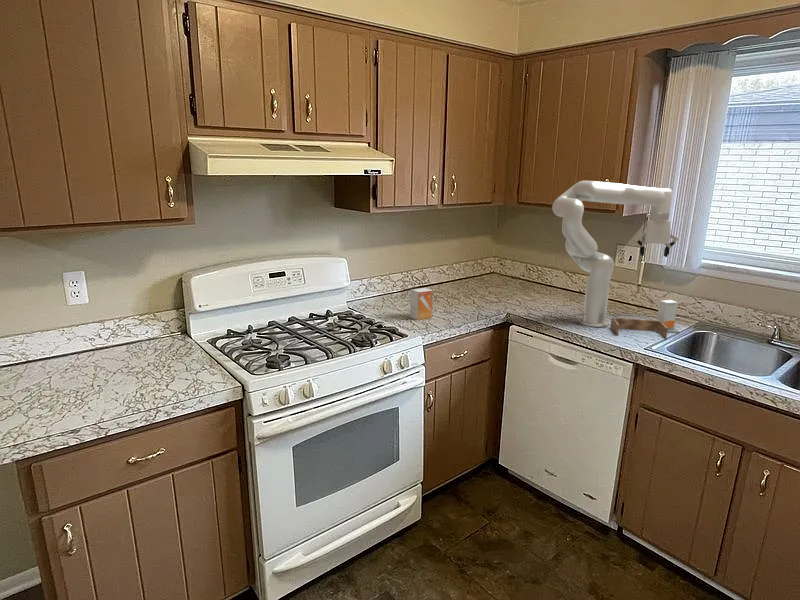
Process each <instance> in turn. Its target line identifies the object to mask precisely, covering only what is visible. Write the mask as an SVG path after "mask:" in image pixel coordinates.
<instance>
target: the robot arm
mask: <svg viewBox="0 0 800 600" xmlns="http://www.w3.org/2000/svg"><path fill="white" fill-rule="evenodd" d="M672 198H673V190H672V189H671V188H667V187H664V188H663V187H649V186H648V187H647V186H640V185H631V184H625V183H618V182H609V181H599V180H580V181H578V182H576V183H575V184H573V185H572V186H571V187H569V188H568V189H567V190H566V191H564V192H563V193H561V195H559V196H558V197H557V198H556V199H555V200H554V201H553V203H552V205H551V206H552V207H551V208H552V212H553V214H554V215H555V216H557V217H559V218H562V222H561V232H562V235H563V236H564V239H565V242H564V246H565V250H566V252H567V254H568V255H569V256H570V257H571V259H572V260H573V261H574V262H575V264H576V265H577V266H579V268H580V269H581V270H583V271H584V272H587V273H590V274H589V276H588V278H587V281H586V286H585V293H584V294H585V295H584V305H583V310H582V311H581V312H579V313H577V312H571V313H572V314H571V318H575V319H577V320H578V323H579V324H581V325H584V326H586V327H591V328H604V327H606V328H607V327H608V326H609V325H610V322H609V321H608V320H607V308H608V303H609V302H608V300H609V295H610V286H611V285H610V284H611V278H612V275H613V272H614V269H615V262H614V259H613V258H612V257H611V256H610V255H608V254H606V253H603V252H598V250H599V248H598V246H599V245H598V243H597V242H596V240H595V239H594V238H593V237H592V236H591V235H590V233H589V232H588V231H587V229H586V228H585V227H584V226H583V222H582V220H583V215H584V211H585V207H584V203H583V202H584V201H585V202H591V203H592V202H594V203H606V204H612V205H614V204H615V205H636V206H650V212H649V213H646V216H645V217H646V218H649V219H647V221H646V223H645V228H644V231H643V232H642V233H640V234H637V235H635V236H634V238H635V241H636V242H637V244H638V245H639V246H640V248H639V255H640V256H641V257H644V256H645V250H646V245H647V244H657V245H661V244H662V245H664V246H665V247H664V249H663V257H666V258H668V256H669V255H670V251H671V250H670V249H671V248H672V247H673V246H674V245H675V244H676V242H677V241H678V240H679V238H678V237H677V236H675V235H673V234H671V232H672V231H671V230H672V229H671V227H672V226H671V225H672V223H671V220H669V218H670V211H671V205H672ZM641 238H642V240H643V241H641V240H640V239H641ZM671 239H672V240H671Z"/></svg>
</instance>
